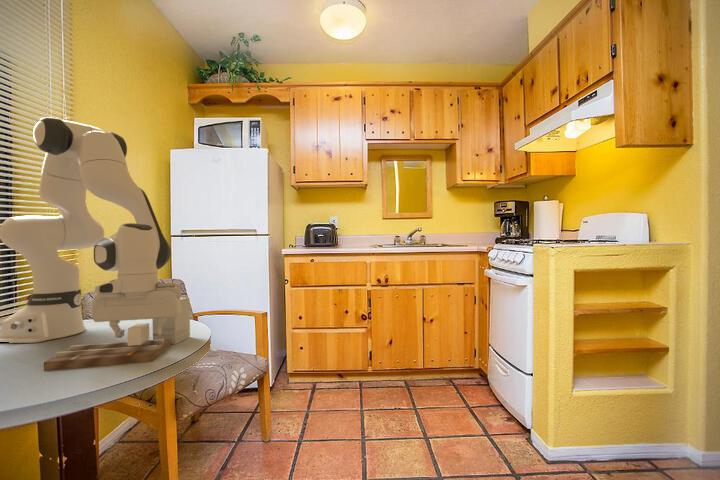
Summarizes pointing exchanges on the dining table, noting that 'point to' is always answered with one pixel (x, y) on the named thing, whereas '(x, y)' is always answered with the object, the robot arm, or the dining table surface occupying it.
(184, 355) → the dining table surface
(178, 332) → the supplement box
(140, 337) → the beige cube
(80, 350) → the brown striped wooden board
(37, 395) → the dining table surface
